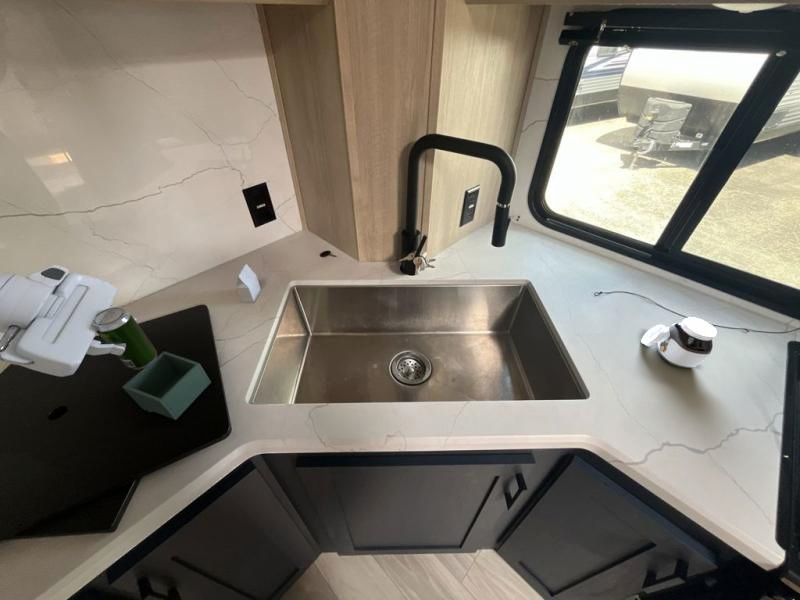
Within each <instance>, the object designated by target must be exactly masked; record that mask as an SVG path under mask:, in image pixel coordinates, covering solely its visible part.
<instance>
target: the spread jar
mask: <svg viewBox="0 0 800 600" xmlns="http://www.w3.org/2000/svg"><path fill="white" fill-rule="evenodd" d="M716 336H718V331H717V329H716V327H714V325H712V324H710V323H709V322H708V321H706V320H704V319H701V318H698V317H691V316H690V317H686V318H684V319H683V320H682V321H681V322H675V323H673V324H670V325H669V326H668V327H666V326H665V325H663V324H657V325H655V326H652V327H651V328H650V329H648V330H647V331H646V332H645V333H644V335H643V336H642V338H641V344H643V345H644V346H646V347H653V346H655V345H657V353H658V354H660V355H659V356H660V357H661V358H662V360H664V362H666V361H667V362H666V363H668V364H670V365H672V366H675V367H679V368H684V369H685V368H696V367H698V366H699V365H700V364H702V363H703V362H704V361H705V360H706V359H707V358H708V357H709V355H710V354H711V353H712V351H713V347H714V343H713V340H714V338H716Z"/></svg>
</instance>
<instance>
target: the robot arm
mask: <svg viewBox="0 0 800 600" xmlns="http://www.w3.org/2000/svg"><path fill="white" fill-rule="evenodd" d="M118 292H119V289H118V288H117V287H116V286H115V285H114V284H112V283H110V282H108V281H105V280H102V279H100V278H97V277H94V276H92V275H88V274H85V273H82V272H81V273H80V272H71V273H69V269H68V268H66V267H64V266H61V265H58V264H54V265H53V264H52V265H50V266H48V267H46V268H43V269H42V270H39V271H37V272H33V273H30V274H29V275H26V277H25V276H23V275H19V274H16V273H13V272H9V271H8V272H7V271H0V333H2V334H3V335H2V337H1V339H0V362H2V363H5V364H10V365H16V366H21V367H24V368H26V369H29V370H33V371H36V372H40V373H43V374H47V375H51V376H55V377H61V378H63V377H64V378H65V377H68V376H73V375H74V374H75V373H76V372H77V370H78V369H79V367H80V365H81V364H82V362H83V360H84V358H85V356H86V355H90V356H101V355H107V354H108V355H109V354H112V355H115V356H117V355H122V354H123V352H124V351H125V348H126V346H127V344H126V343H121V342H118V341H115V343H114V344H107V343H104V344H103V343H102V342H101V341H100V340H96V339H95V337H96V335H97V334H98V333H97V329H96V328H95V326H93V325H92V321H93V322H94V324H96V321H95V320H96V318H97V316H96V314H98V313H99V312H101V311H103V310H105V309H108V308H112V307H115V306H113V305H112V304H113V302H114V300H115V298H116V296H117V294H118ZM95 316H96V317H95ZM94 317H95V318H94ZM133 318H134V320H135V321H136V322H138V319H137V318H136V317H133Z"/></svg>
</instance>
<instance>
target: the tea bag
mask: <svg viewBox="0 0 800 600" xmlns="http://www.w3.org/2000/svg"><path fill="white" fill-rule="evenodd" d="M235 288H236V291H237V293H238V296H239V299H240V302H241V303H242V304H243V303H244V304H245V303H246V304H248V303H249V304H251V303H252V304H253V303H256V300H257V298H258V296H259V294H260V292H261V290H262V288H261V285H260V282H259V279H258V276H257V274H256V273H255V272H254V271H253V270H252V268H250V266H249V265H248V263H245V264H244V265H243V267H242V268H241V270H240V272H239V273H238V275H237V281H236V286H235Z"/></svg>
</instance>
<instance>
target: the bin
mask: <svg viewBox="0 0 800 600" xmlns="http://www.w3.org/2000/svg"><path fill="white" fill-rule="evenodd" d="M211 383H212V381H211V380H210V378H209V376H208V374H207V373H206V371H205V370H204V368H203V367H202V365H201V363H200V362H197V361H194V360H192V359H189V358H185V357H182V356H179V355H177V354H173V353H171V352H169V351H165V350H164V351H163V352H161V353H160V354H159V355H157V358H156V360H155V361H154V362H153V363H152V364H151V365H149V366H147V367H145V368H142V370H140V371H139V372H138V373H137V374H135V375H134V376H133V377H132V378H131V379H130V380H128V381H127V382H126V383H125V384H124V385H122V387H121V388H122V389H123V390H124V391H125V392H126V393H127V394H128V395H129V396H130V397H131V398H132V399H133V401H135V403H136V404H137V405H138V406H139V407H140V408H141V409H142V410H144V411H146V410H147V411H146V412H149V413H151V412H152V413H153V412H154V413H156V414H159V415H162V416H164V417H166V418H169V419H171V420H174V421H177V420H178V419H179V417H180V416H181V415H182V414H183V413H184V412H185V411H186V410H187V409H188V408H189V407H190V406H191V405H192V403H194V401H195V400H196V399H197V398H198V397H199V396H200V395H201V394H202V393H203V392H204V391H205V389H207V388H208V386H209V385H210V384H211Z"/></svg>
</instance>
